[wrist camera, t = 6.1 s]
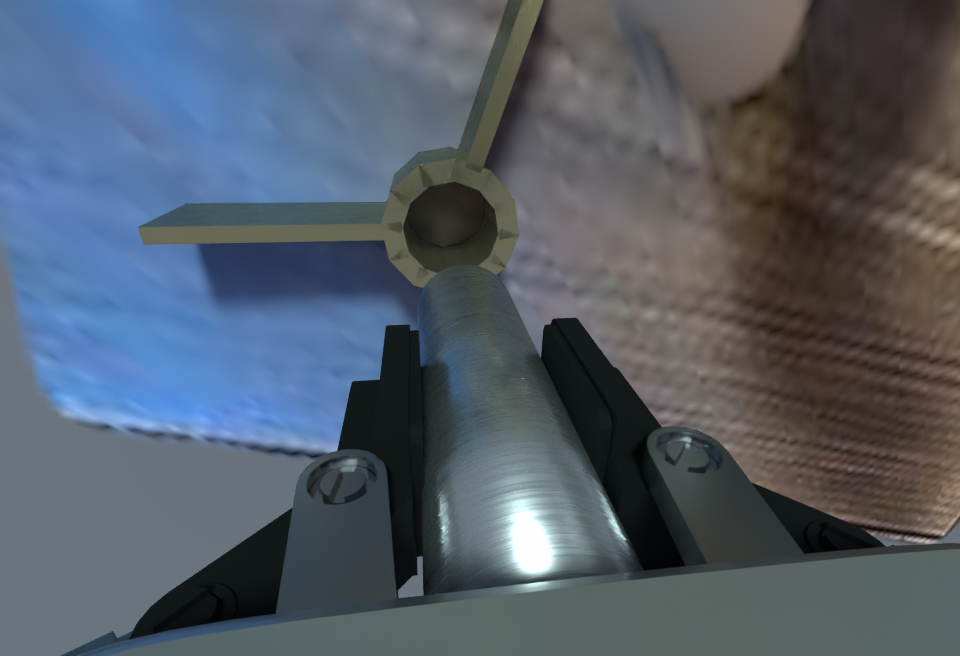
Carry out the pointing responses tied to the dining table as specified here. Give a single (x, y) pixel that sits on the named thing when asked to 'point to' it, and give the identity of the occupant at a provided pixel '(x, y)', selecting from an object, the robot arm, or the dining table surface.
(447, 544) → the hinge pin
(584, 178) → the dining table surface
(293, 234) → the brass hinge
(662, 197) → the dining table surface
